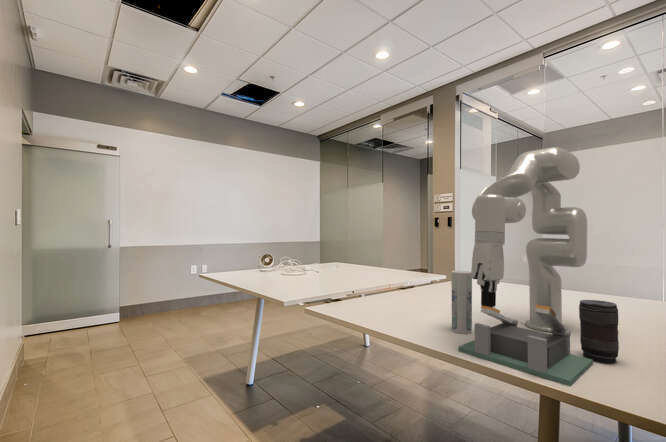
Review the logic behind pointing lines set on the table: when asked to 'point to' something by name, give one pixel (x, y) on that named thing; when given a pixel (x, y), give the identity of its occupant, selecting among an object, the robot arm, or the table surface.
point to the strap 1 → (495, 314)
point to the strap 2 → (549, 318)
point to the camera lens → (599, 330)
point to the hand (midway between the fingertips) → (488, 305)
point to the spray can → (461, 302)
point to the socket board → (528, 351)
